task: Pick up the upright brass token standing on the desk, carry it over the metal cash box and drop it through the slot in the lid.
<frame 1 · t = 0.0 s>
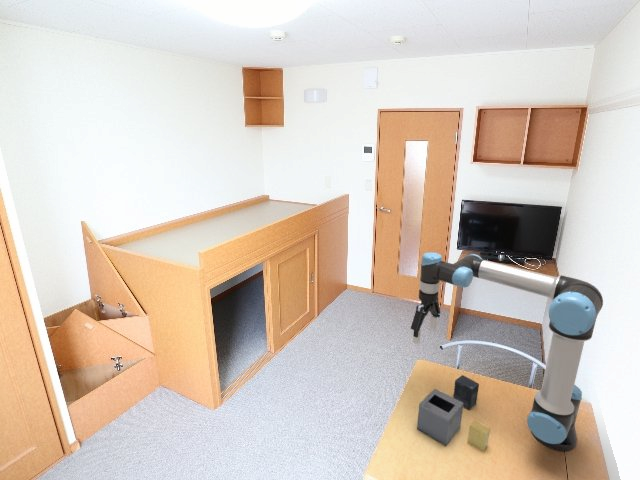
hand: (424, 336, 162), 28 cm above the table, fingers open, 13 cm apart
cashbox: (438, 428, 150), on the table
token: (477, 444, 143), on the table
box: (464, 402, 164), on the table
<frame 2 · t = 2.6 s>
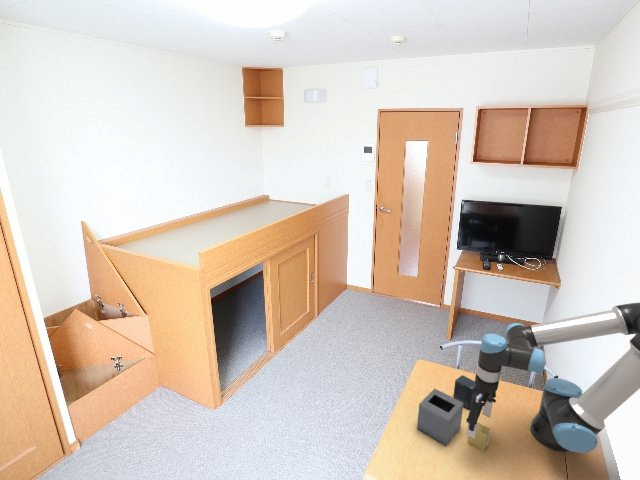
hand: (478, 425, 141), 8 cm above the table, fingers open, 13 cm apart
nothing on the table moved.
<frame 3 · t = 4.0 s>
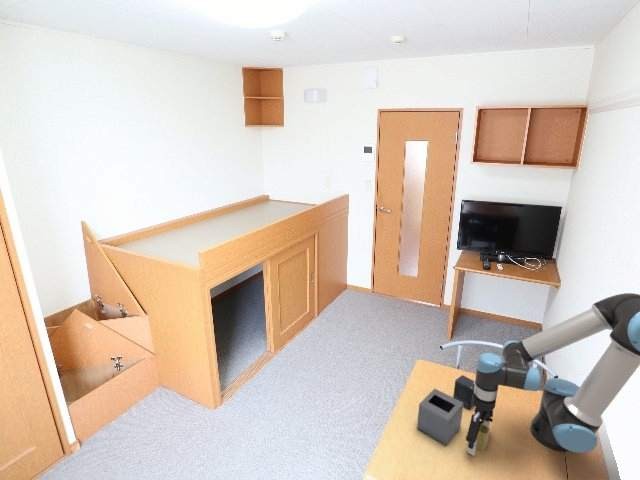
hand: (477, 443, 143), 0 cm above the table, fingers open, 11 cm apart
nothing on the table moved.
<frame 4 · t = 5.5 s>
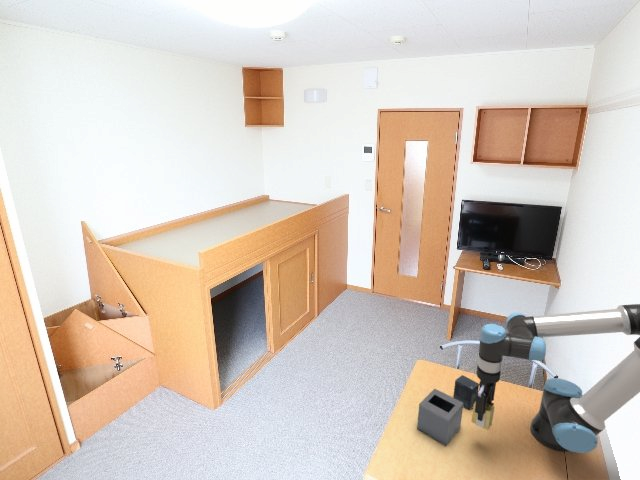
hand: (482, 422, 140), 10 cm above the table, fingers closed on token, 3 cm apart
token: (481, 423, 140), point 10 cm above the table, touching gripper
everything else where it was.
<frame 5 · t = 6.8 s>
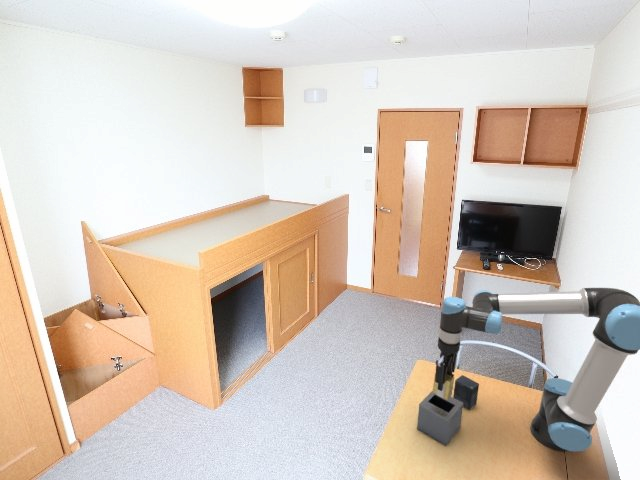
hand: (442, 393, 145), 17 cm above the table, fingers closed on token, 3 cm apart
token: (442, 393, 145), point 16 cm above the table, touching gripper
everything else where it was.
when the fingers open (14 cm above the table, at t = 8.1 s): token drops 12 cm, resting on cashbox.
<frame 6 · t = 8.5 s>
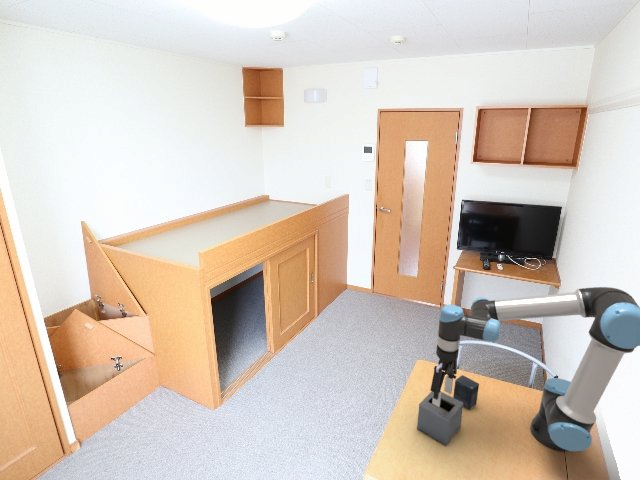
hand: (442, 398, 146), 14 cm above the table, fingers open, 9 cm apart
token: (437, 427, 150), point 1 cm above the table, touching cashbox
everything else where it was.
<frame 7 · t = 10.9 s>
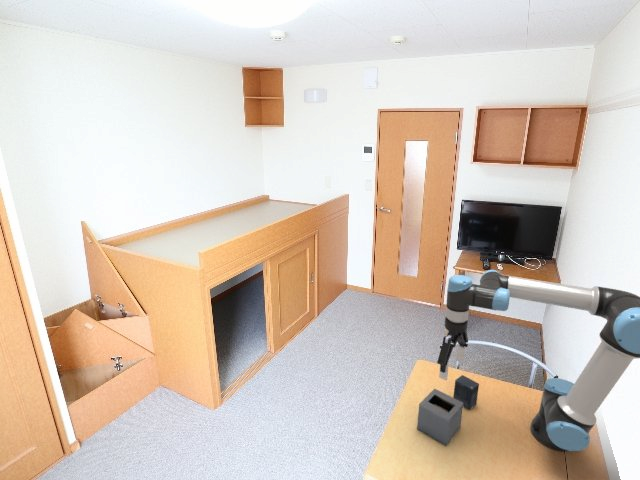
hand: (451, 369, 142), 27 cm above the table, fingers open, 13 cm apart
nothing on the table moved.
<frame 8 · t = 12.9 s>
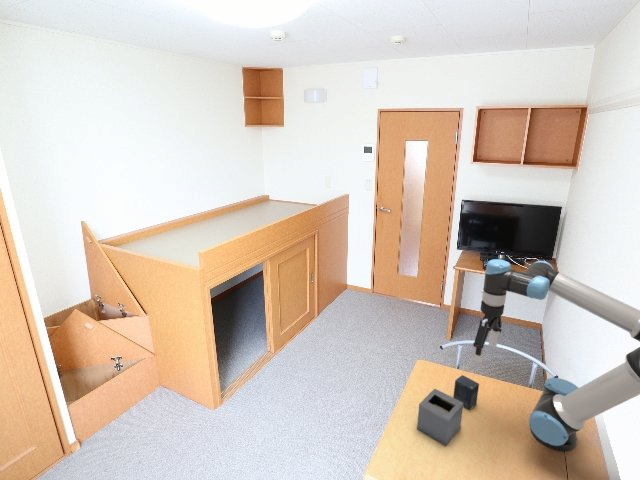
hand: (485, 353, 144), 32 cm above the table, fingers open, 13 cm apart
nothing on the table moved.
at the end: token inside the target area on the cashbox (0.4 cm from its centre), point 0.8 cm above the cashbox's base; the gripper is holding nothing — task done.
